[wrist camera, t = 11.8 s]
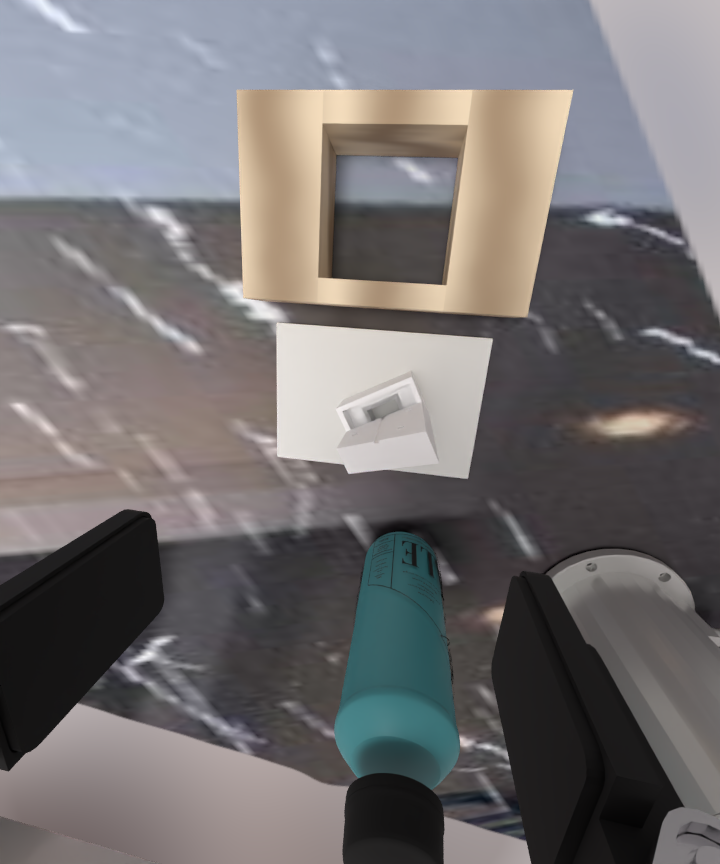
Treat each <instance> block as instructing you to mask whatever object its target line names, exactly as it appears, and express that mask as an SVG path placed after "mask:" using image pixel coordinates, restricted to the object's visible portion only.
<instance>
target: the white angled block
mask: <svg viewBox="0 0 720 864" xmlns="http://www.w3.org/2000/svg"><path fill="white" fill-rule="evenodd" d="M394 399H396V402H397V404H398V407H399V409H400V410H397V411H395V412H392V413H390V414H387V415H385V416H382V417H380V418H377V419H375V417H374V415H373V412H372V410H371V409H373V408H375V407H377V406H380V405H382V404H385V403H387V402H390V401H392V400H394ZM336 411H337V413H338V415H339V417H340V419H341V422H342V424H343V426H344V428H345V430H346V433H345V435H344V436H343V438H342V440H341V442H340V443H339V445H338V447H337V448H336V449H337V451H338V453H339V455H340V457H341V459H342V461H343V464H344V466H345V468H346V470H347V472H348V474H352V473H360V472H369V471H378V470H386V469H395V468H404V467H412V466H421V465H429V464H438V463H439V459H438V455H437V450H436V445H435V440H434V435H433V430H432V425H431V420H430V415H429V412H428V410H427V407H426V405H425V402H424V400H423V398H422V395H421V393H420V390H419V388H418V385H417V383H416V380H415V378H414V375H413V373H412V371H409V372H407V373H404V374H402V375H400V376H397V377H395V378H393V379H390V380H388V381H386V382H383V383H381V384H379V385H376V386H374V387H371V388H369V389H367V390H364V391H362V392H360V393H357V394H355V395H353V396H350V397H348V398H346V399H343V401H342V402H341V403H340V404H339V405H338V406H337V408H336Z"/></svg>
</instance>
